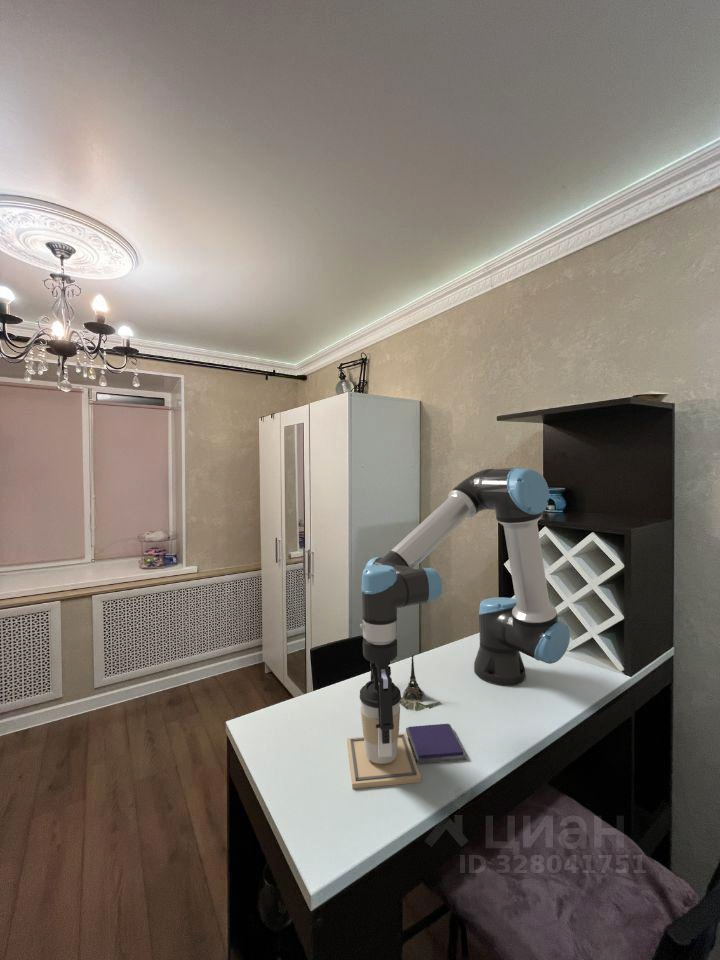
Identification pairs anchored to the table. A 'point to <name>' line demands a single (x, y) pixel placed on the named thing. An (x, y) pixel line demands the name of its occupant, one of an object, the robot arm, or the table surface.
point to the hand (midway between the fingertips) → (381, 740)
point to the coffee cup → (372, 718)
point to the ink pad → (435, 744)
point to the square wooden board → (382, 765)
